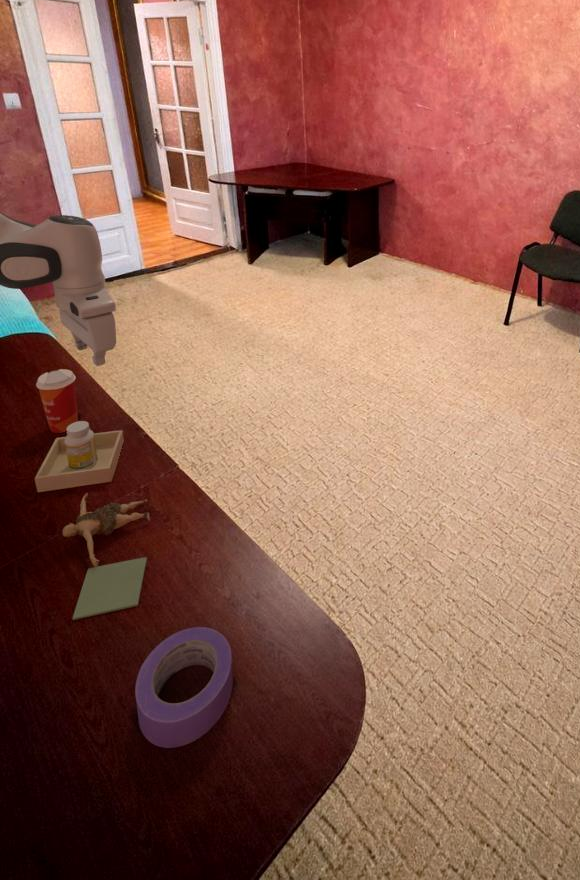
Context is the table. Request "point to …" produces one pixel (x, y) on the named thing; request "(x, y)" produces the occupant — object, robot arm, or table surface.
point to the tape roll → (197, 714)
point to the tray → (61, 476)
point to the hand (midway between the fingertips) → (90, 356)
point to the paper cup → (58, 398)
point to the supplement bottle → (80, 446)
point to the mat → (111, 588)
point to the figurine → (102, 521)
